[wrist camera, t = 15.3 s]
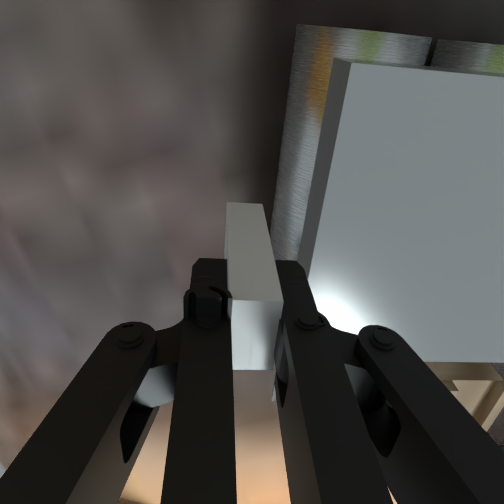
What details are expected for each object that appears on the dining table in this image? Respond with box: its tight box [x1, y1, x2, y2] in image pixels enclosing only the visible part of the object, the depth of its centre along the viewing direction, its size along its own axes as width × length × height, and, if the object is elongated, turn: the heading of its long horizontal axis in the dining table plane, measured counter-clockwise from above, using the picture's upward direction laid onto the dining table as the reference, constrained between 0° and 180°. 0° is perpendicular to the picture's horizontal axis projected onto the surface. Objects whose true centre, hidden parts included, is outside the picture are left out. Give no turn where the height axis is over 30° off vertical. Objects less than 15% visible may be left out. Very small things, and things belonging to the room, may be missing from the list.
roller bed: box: [270, 24, 504, 261], centre depth 22 cm, size 13×16×6 cm
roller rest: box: [425, 362, 504, 432], centre depth 32 cm, size 5×6×5 cm
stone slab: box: [297, 57, 504, 363], centre depth 18 cm, size 12×14×2 cm
